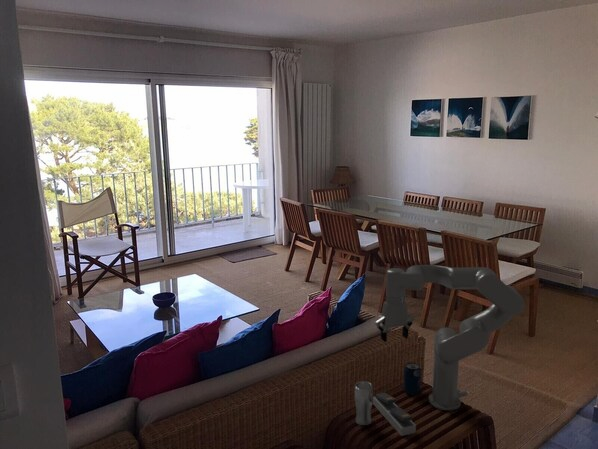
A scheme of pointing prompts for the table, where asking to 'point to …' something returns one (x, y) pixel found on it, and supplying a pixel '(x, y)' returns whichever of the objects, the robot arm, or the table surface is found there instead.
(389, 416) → the power strip
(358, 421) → the beer glass
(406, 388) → the soda can
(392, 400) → the outlet rocker
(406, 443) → the table surface
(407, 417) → the outlet rocker
